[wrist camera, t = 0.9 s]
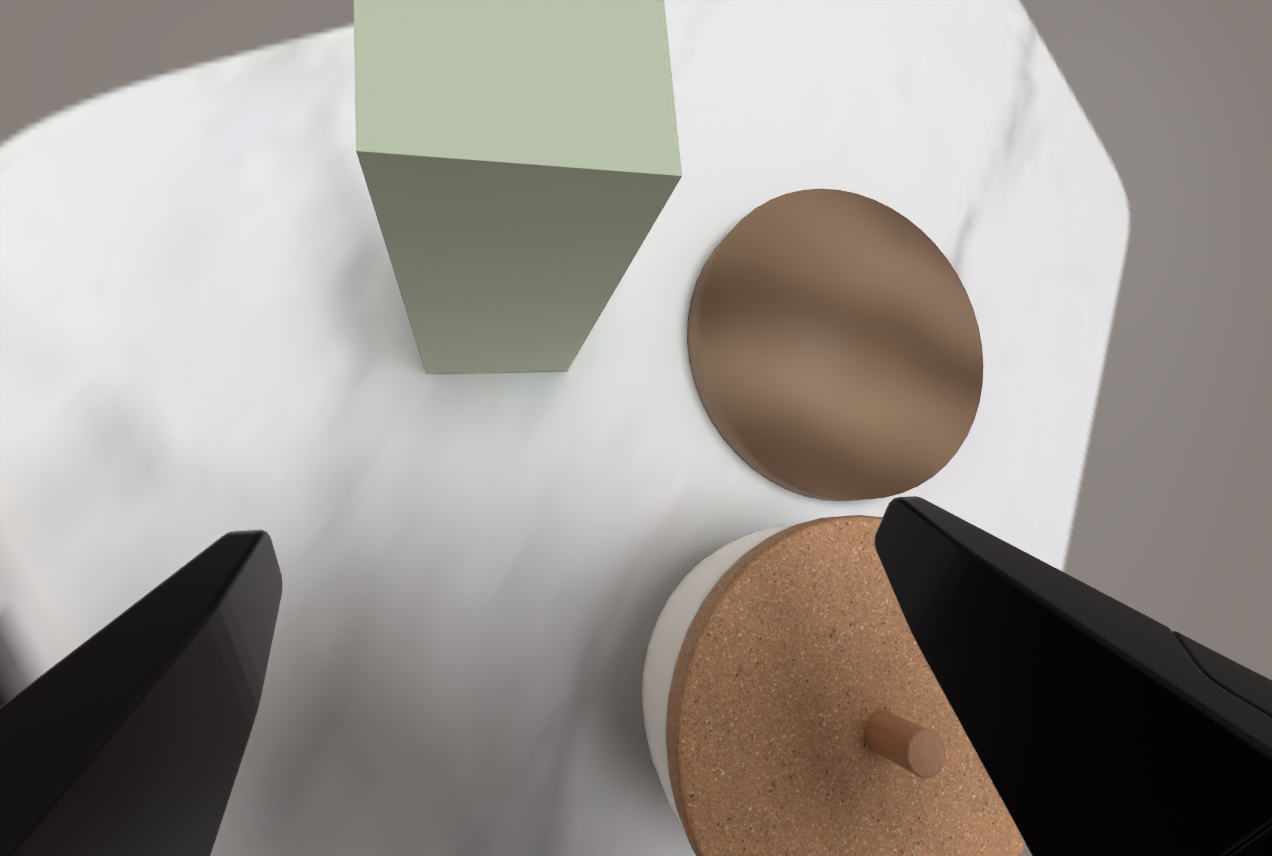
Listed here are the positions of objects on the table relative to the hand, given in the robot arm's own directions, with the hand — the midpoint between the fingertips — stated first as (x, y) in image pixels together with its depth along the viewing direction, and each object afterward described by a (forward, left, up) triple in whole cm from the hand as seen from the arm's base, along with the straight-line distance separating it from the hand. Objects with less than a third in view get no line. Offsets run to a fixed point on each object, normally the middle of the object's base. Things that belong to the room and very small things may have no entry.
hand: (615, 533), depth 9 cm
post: (+8, +2, -13) cm, 15 cm away
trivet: (+9, -12, -13) cm, 20 cm away
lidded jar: (-4, -9, -13) cm, 16 cm away
